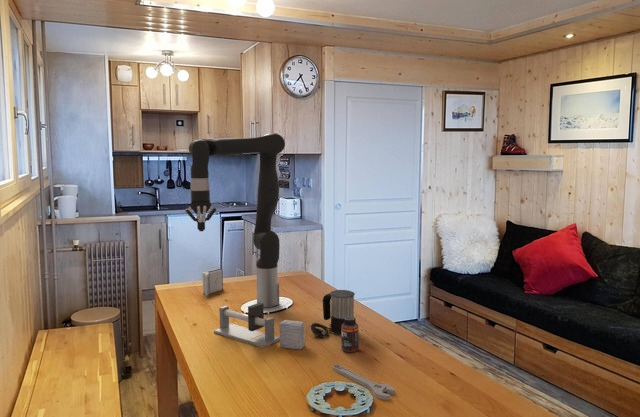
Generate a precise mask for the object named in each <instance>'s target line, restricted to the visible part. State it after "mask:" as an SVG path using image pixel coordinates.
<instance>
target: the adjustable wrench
mask: <svg viewBox="0 0 640 417" xmlns="http://www.w3.org/2000/svg"><path fill="white" fill-rule="evenodd" d="M332 370H333V371H335V373H338V374H340V375H342V376H343V377H346V378H348V379H350V380H351V381H354V382H355V383H357V384H359V385H361V386H363V387H364V388H366V389H369V390H370V391H371V392H372V394H373V395H374V397H375V398H377V399H379V400H384V401H390V400H392V397H391V396H392V395H395V394H396V389H395V388H394V387H393V386H391V385H389V384H388V383H377V382H374V381H371V379H368V378H366V377H365V376H363V375H360V374H358V373H356V372H354V371H352V370H351V369H349V368H346V367H345V366H342V365H341V364H333V365H332Z"/></svg>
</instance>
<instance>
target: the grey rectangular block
mask: <svg viewBox="0 0 640 417" xmlns="http://www.w3.org/2000/svg"><path fill="white" fill-rule="evenodd" d="M201 274H202V294H204V295H205V297H208V295H210V294H212V293H216V292H219V291H223V290H224V280H223V279H224V276H223V274H224V273H223V268H222V269H221V268H214V269H211V270H207V271H204V272H202V273H201Z"/></svg>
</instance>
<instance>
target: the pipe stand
mask: <svg viewBox="0 0 640 417" xmlns="http://www.w3.org/2000/svg"><path fill="white" fill-rule="evenodd" d="M229 308H230V307H229V306H228V305H224V306H220V307H219V328H216V329H214V330H213V333H214V334H216V335H220V336H223V337H227V338H230V339H234V340H237V341H239V342H243V343H245V344H246V343H247V344H250V345H253V346H256V347H259V348H263V349H264V348H266V347H268V346H270V345H272V344H274V343H276V342H280V336H276V335H275V317H272V316H269V317H268V318H264V319H262V318H259V317H255V325H257V324H258V325H261V326H264V332H263V331H259V330H255V331H253V332H252V331H249V330H248V327H245V326H242V325H238V324H234V323H230V318H233V319H236V320H239V321H243V322H246V323H248V314H245V313H242V312H237V311H234V310H231V309H229Z"/></svg>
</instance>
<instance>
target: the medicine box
mask: <svg viewBox="0 0 640 417" xmlns="http://www.w3.org/2000/svg"><path fill="white" fill-rule="evenodd" d="M305 331H306V330H305V322H304V321H298V320H289V319H284V320H283V321H281V322H280V323H279V337H280V340H279V347H280V348H285V349H286V348H287V349H293V350H294V349H295V350H299V351H300V350H302V349H303V348H304V347H305V345H306V343H305V341H306V339H305V338H306V337H305V336H306V332H305Z"/></svg>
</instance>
